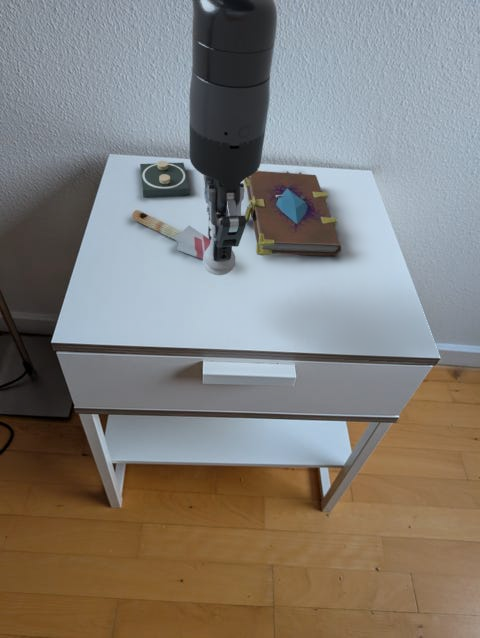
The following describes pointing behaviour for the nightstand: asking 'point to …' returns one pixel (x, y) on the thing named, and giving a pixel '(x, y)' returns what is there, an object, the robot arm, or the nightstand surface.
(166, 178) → the eye pad
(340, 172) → the nightstand surface
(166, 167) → the eye pad
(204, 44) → the robot arm
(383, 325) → the nightstand surface
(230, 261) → the rook chess piece
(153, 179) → the green square board
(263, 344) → the nightstand surface
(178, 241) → the grey trowel
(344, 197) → the nightstand surface
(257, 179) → the book
